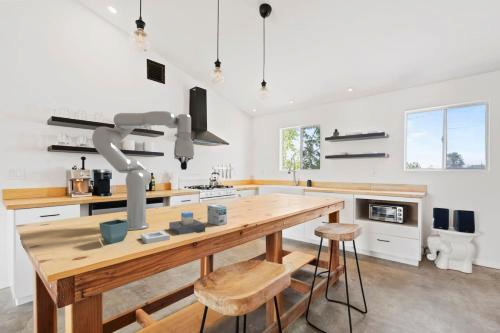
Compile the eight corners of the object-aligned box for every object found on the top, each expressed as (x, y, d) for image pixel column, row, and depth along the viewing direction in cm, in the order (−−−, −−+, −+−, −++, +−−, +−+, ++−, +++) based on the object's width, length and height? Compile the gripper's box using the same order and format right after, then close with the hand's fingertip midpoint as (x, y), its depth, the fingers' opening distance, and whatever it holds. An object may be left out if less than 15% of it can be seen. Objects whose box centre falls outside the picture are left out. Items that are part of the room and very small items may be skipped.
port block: (179, 235, 119) (179, 227, 119) (169, 229, 130) (169, 221, 130) (205, 231, 127) (205, 223, 127) (193, 226, 138) (193, 218, 138)
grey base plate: (146, 244, 105) (146, 239, 105) (140, 239, 113) (140, 233, 113) (169, 240, 111) (169, 235, 111) (162, 235, 119) (162, 230, 119)
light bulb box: (227, 223, 145) (227, 205, 145) (218, 225, 140) (218, 207, 140) (215, 221, 152) (215, 203, 152) (206, 223, 147) (206, 205, 147)
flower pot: (109, 246, 102) (109, 225, 102) (98, 243, 107) (98, 222, 107) (129, 241, 110) (129, 221, 110) (118, 238, 114) (118, 219, 114)
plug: (184, 231, 125) (184, 213, 125) (181, 229, 129) (181, 212, 129) (193, 230, 128) (193, 212, 128) (189, 228, 132) (189, 211, 132)
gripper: (173, 135, 129) (172, 169, 129) (199, 137, 138) (199, 169, 138) (168, 136, 135) (168, 169, 135) (193, 138, 144) (193, 169, 144)
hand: (183, 169), depth 136 cm, fingers closed
